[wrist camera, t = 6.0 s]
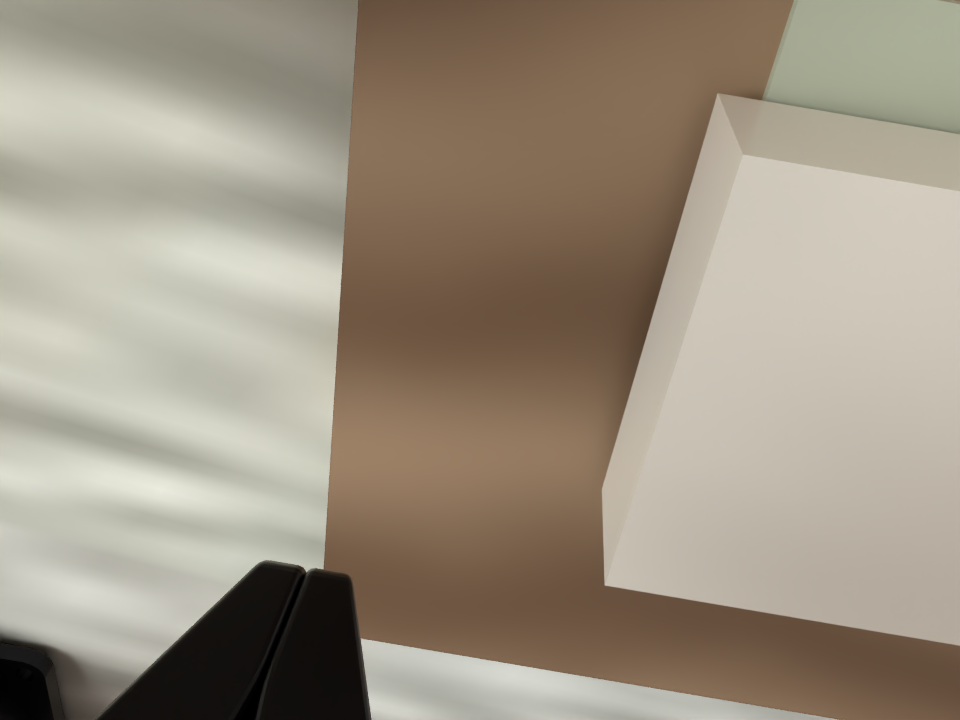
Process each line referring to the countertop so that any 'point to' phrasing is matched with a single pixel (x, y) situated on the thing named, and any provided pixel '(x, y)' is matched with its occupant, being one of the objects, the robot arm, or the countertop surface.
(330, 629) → the robot arm
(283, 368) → the countertop surface
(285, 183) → the countertop surface
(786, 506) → the glazed tile
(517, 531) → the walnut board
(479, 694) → the countertop surface
